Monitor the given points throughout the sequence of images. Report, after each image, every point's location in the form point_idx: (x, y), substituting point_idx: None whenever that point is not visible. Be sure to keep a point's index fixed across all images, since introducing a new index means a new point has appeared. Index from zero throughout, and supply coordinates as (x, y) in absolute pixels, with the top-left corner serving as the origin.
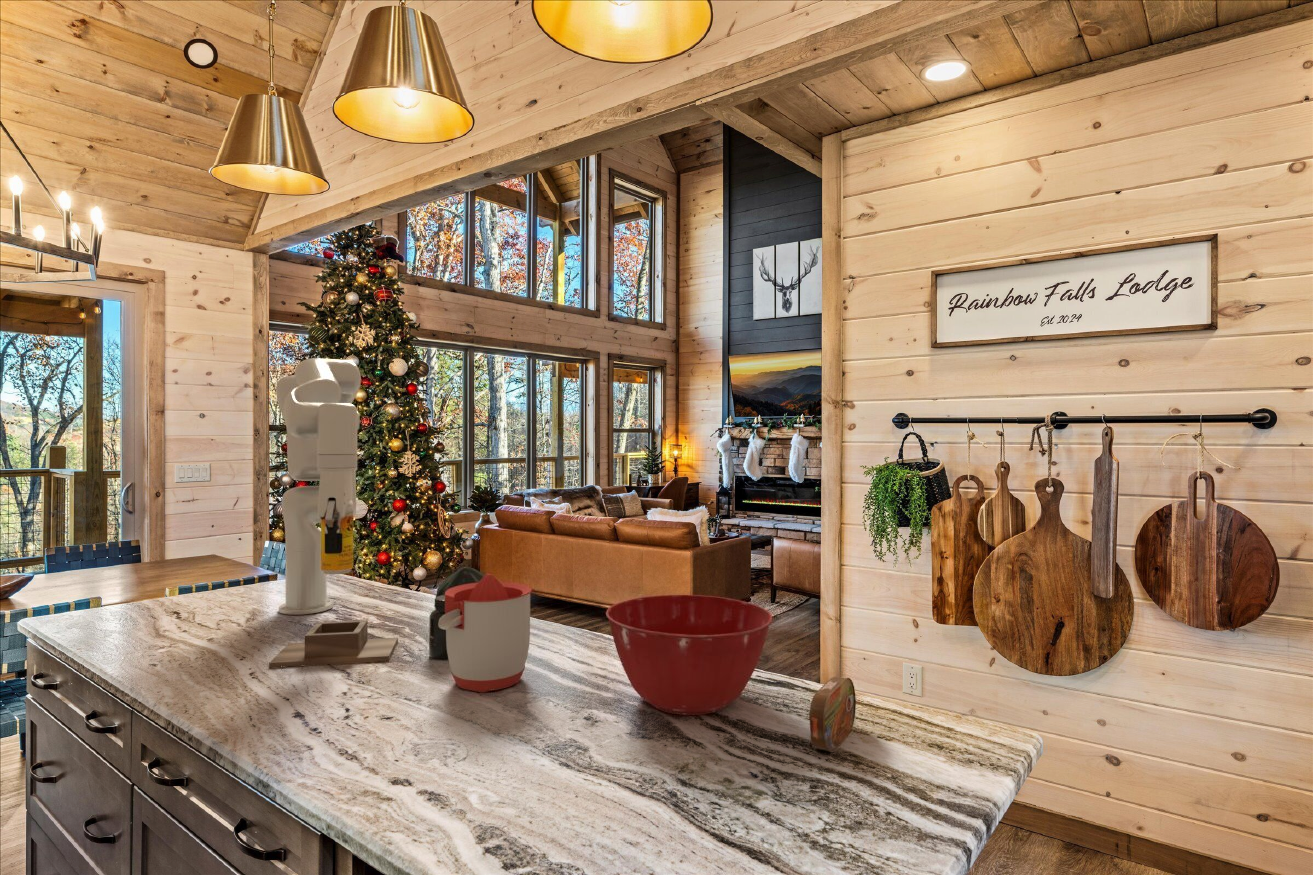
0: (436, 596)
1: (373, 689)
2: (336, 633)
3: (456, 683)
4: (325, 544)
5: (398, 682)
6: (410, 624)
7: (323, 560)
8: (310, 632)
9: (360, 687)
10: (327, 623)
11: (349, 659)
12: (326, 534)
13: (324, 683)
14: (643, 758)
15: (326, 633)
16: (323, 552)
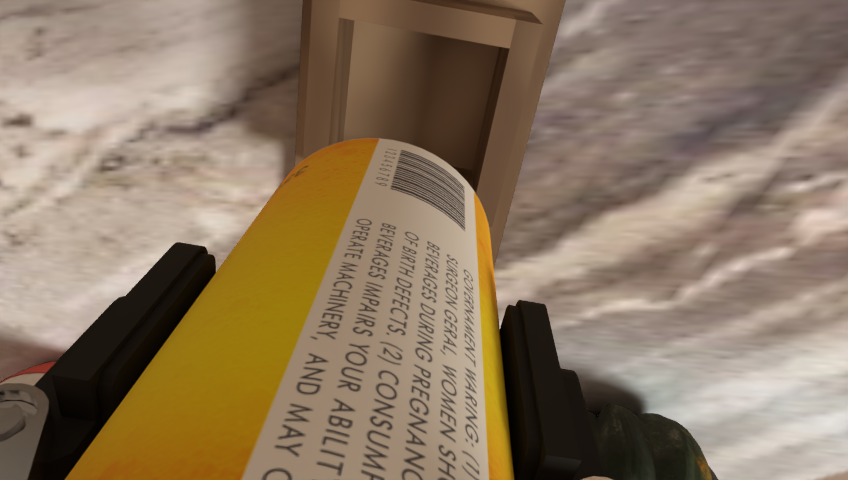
0: (624, 460)
1: (49, 192)
2: (319, 116)
3: (49, 363)
4: (132, 294)
5: (101, 250)
6: (695, 317)
7: (281, 190)
8: (367, 5)
9: (66, 161)
10: (505, 72)
11: (298, 134)
12: (65, 384)
13: (109, 60)
14: None
15: (328, 76)
16: (258, 223)
